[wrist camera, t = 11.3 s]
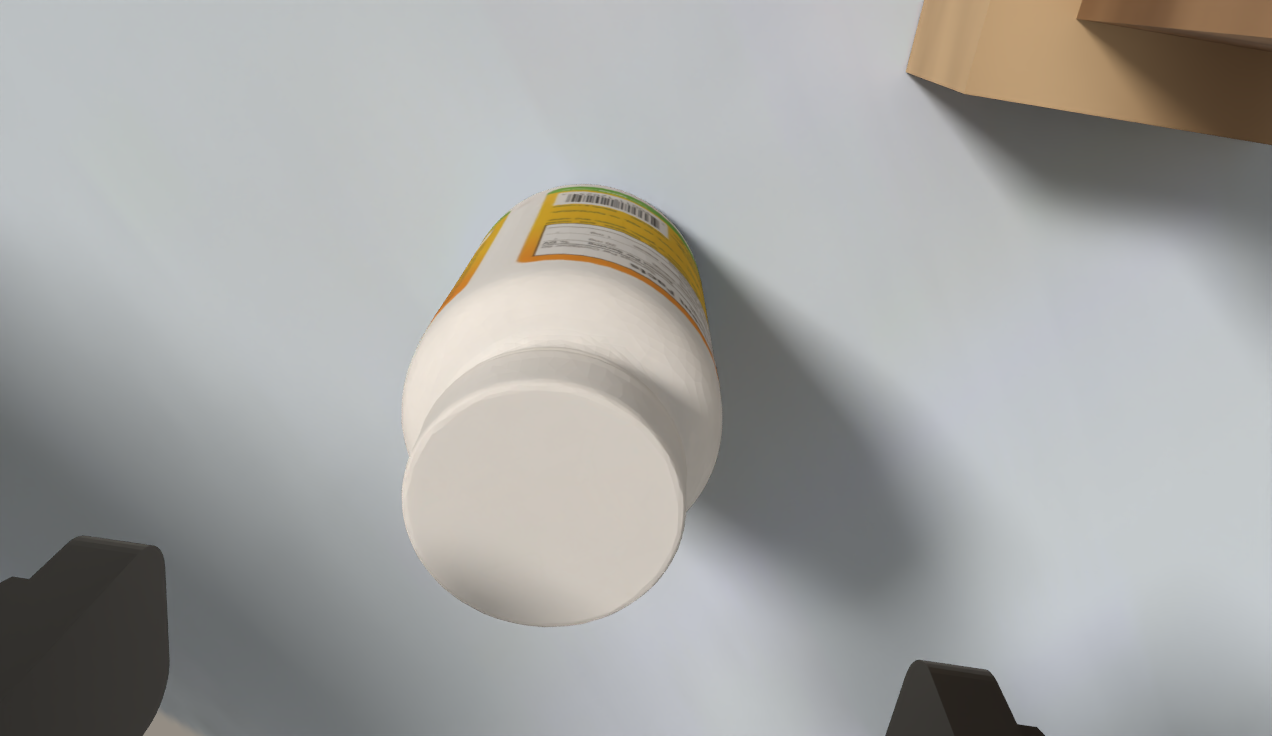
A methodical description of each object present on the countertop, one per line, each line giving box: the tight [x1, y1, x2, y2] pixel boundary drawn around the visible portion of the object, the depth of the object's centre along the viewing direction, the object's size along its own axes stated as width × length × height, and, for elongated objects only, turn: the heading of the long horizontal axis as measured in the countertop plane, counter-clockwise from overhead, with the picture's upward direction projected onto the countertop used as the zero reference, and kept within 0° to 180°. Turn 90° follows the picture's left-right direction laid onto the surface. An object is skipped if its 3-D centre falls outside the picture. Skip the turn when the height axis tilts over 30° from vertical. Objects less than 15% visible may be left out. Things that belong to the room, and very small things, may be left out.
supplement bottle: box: [402, 184, 723, 627], centre depth 17 cm, size 5×5×10 cm
